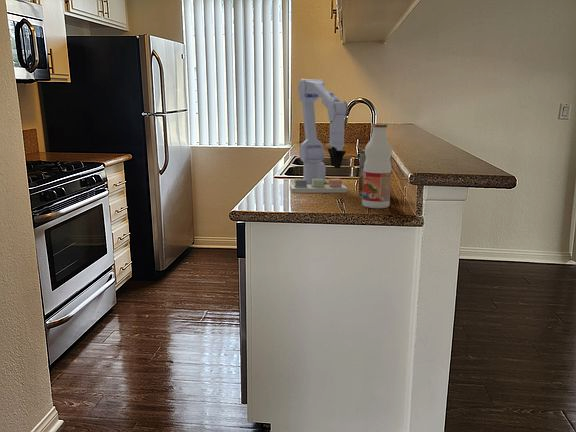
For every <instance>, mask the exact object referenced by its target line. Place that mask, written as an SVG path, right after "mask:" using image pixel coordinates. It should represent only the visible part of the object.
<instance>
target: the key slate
mask: <svg viewBox="0 0 576 432" xmlns="http://www.w3.org/2000/svg"><path fill="white" fill-rule="evenodd" d="M294 184H295V186H307V184H308V183H307V180H306V179H303V178H295V179H294Z"/></svg>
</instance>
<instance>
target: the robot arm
mask: <svg viewBox="0 0 576 432" xmlns="http://www.w3.org/2000/svg"><path fill="white" fill-rule="evenodd" d="M297 90H298V91H297V92H298V100H299V101H300V102H301V107H302V115H303V117H302V118H303V127H304V139H305V140H304V141H302V142H301V144H300V146H299V159H300V160H301V162H302V163H303V173H302V174H303V178H302V179H306V180H307V184H312V179H324V183H327V180H326V172H327V171H326V164H325V163H324V162H323V160H324V158H325V157H326V155H325V154H326V152H325V149H324V146H323V145H324V144H323V142H322V141H320V140H319V139H318V134H317V126H316V125H317V124H316V115H315V102H317V101H318V100H319V99H321V103H322V104H323V106H324V107H325V108H326V109H327V114H328V121H329V143H326V146H327V147H330V148H327V151H328V154H329V157H330V164H331V167H334V169H341V167H342V163H343V159H344V157H345V155H346V151H347V150H343V147H345V123H346V122H345V121H346V117H347V115H348V112H349V105H348V103H347V102H346V101H345V100H343V101H341V100H340V99H339V98H338V97H337V96H336V94H334V92H333V91H328V89H326V87H325V82H324V81H323V80H322V79H321V78H319V79H308V78H307V79H306V78H301V79H300V80H299V82H298V86H297Z"/></svg>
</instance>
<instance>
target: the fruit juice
mask: <svg viewBox="0 0 576 432" xmlns="http://www.w3.org/2000/svg"><path fill="white" fill-rule="evenodd" d="M371 126H372V134H371V138H370V140H369V141H368V142H367V144H366V145H365V147H364V152H365V156H366V160H365V162H364V169H363V192H362V195H361V196H362V197H361V203H362V206H363V207H365V208H369V209H385V208H389V207H390V204H391V183H392V171H393V170H392V161H391V158H392V154H393V148H392V147H393V146H392V145H391V143H390V142H389V140H388V137H387V129H388V124H387V123H372V125H371Z"/></svg>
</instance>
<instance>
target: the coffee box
mask: <svg viewBox="0 0 576 432" xmlns="http://www.w3.org/2000/svg"><path fill="white" fill-rule="evenodd" d="M365 160H366V156H365V151H364V152H361V153H359V168H358V170H359V171H358V172H359V173H358V196H362V192H363V169H364V162H365Z"/></svg>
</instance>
